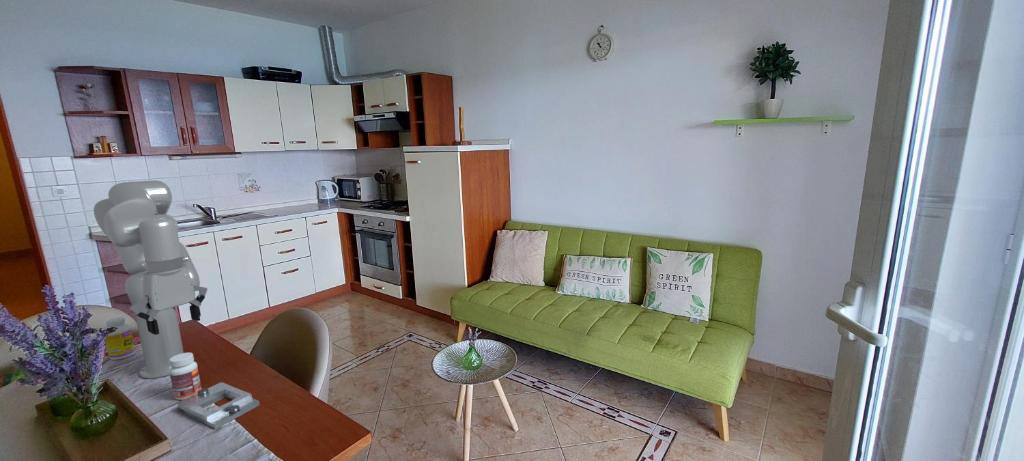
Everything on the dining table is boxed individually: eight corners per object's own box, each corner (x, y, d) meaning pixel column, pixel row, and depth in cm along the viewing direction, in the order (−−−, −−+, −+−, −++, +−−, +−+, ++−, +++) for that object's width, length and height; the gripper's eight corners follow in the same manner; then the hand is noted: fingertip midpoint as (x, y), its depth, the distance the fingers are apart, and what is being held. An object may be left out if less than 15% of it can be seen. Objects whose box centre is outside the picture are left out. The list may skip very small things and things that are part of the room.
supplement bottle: (128, 359, 141) (120, 322, 138) (104, 362, 139) (96, 325, 137) (140, 350, 147) (133, 315, 145) (117, 352, 146) (110, 317, 143)
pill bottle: (201, 395, 118) (194, 357, 116) (173, 403, 115) (165, 364, 113) (202, 385, 123) (195, 349, 121) (175, 392, 120) (168, 355, 118)
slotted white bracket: (178, 411, 111) (176, 399, 111) (222, 389, 121) (220, 379, 120) (215, 429, 104) (213, 417, 103) (259, 405, 113) (257, 394, 113)
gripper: (193, 256, 121) (203, 313, 125) (116, 272, 106) (129, 336, 110) (208, 259, 118) (218, 317, 121) (131, 276, 103) (144, 342, 106)
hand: (176, 326), depth 115 cm, fingers open, 9 cm apart
